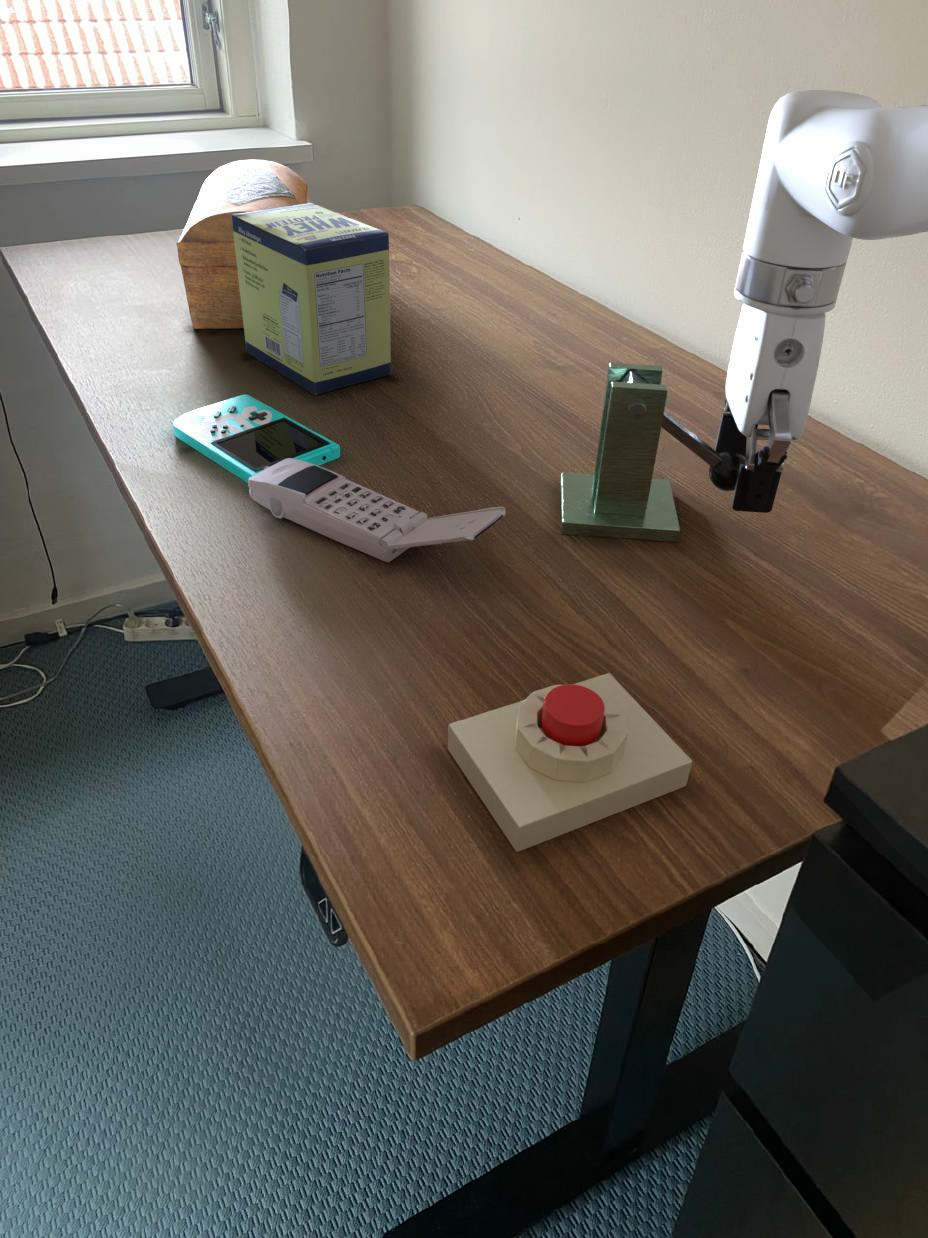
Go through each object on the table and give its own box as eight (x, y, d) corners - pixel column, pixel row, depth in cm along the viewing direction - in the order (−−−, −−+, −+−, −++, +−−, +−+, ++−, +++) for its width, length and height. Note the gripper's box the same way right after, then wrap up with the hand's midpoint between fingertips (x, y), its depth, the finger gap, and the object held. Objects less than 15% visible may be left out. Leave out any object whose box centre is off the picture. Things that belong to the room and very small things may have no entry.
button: (580, 698, 57) (583, 677, 56) (612, 736, 55) (616, 714, 54) (530, 715, 56) (532, 694, 55) (561, 754, 54) (564, 732, 53)
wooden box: (320, 329, 116) (313, 212, 107) (184, 330, 114) (167, 210, 106) (322, 258, 139) (317, 157, 131) (210, 257, 138) (197, 155, 129)
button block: (605, 696, 63) (613, 651, 61) (686, 786, 57) (698, 740, 54) (447, 749, 59) (448, 702, 56) (516, 853, 52) (521, 805, 50)
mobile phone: (469, 540, 68) (221, 437, 78) (463, 604, 71) (227, 498, 81) (511, 507, 72) (270, 413, 82) (504, 570, 75) (274, 473, 85)
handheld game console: (249, 402, 98) (247, 390, 97) (344, 456, 90) (344, 443, 89) (164, 430, 92) (162, 417, 92) (258, 490, 84) (256, 476, 83)
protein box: (318, 334, 115) (310, 200, 105) (393, 375, 105) (392, 232, 96) (243, 352, 109) (228, 212, 100) (315, 397, 100) (306, 247, 90)
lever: (725, 486, 82) (754, 459, 81) (731, 505, 80) (761, 478, 78) (607, 393, 78) (634, 362, 76) (609, 410, 75) (637, 378, 74)
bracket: (667, 490, 86) (693, 358, 79) (677, 542, 79) (707, 402, 71) (560, 483, 87) (575, 350, 79) (561, 534, 80) (577, 394, 72)
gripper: (870, 321, 63) (806, 537, 73) (812, 251, 76) (765, 440, 87) (758, 315, 63) (711, 530, 73) (721, 246, 77) (685, 435, 87)
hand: (740, 481), depth 80 cm, fingers open, 9 cm apart
